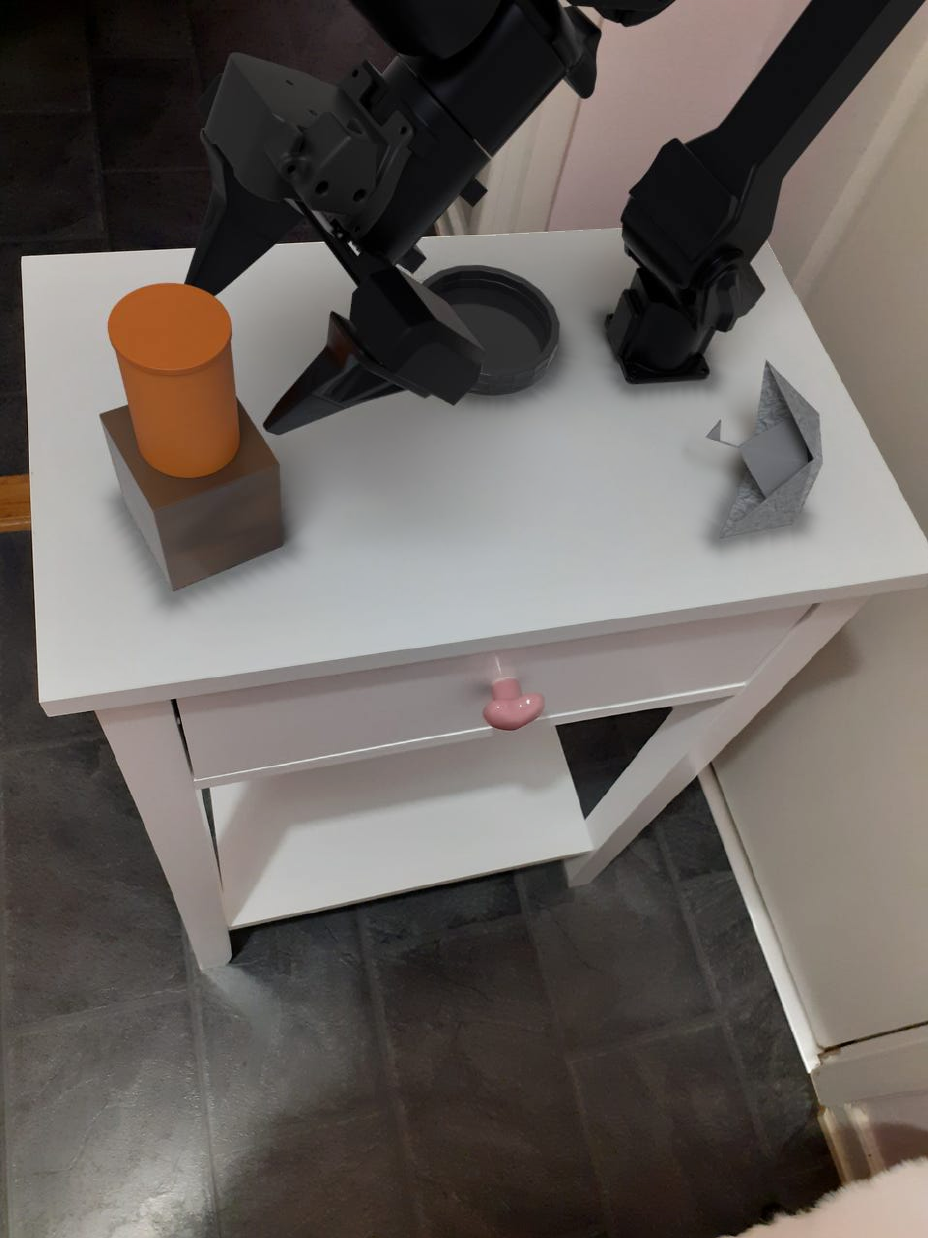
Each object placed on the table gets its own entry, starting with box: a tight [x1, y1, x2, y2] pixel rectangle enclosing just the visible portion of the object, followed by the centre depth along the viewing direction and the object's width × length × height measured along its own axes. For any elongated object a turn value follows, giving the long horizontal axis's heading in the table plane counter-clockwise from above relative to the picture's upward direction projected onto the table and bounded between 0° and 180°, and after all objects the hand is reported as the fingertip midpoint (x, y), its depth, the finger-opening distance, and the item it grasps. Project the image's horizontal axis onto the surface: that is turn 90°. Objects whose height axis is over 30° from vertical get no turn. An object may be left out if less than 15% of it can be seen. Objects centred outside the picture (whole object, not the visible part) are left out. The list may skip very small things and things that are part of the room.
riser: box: [98, 395, 284, 592], centre depth 52 cm, size 7×7×8 cm
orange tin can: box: [107, 282, 240, 478], centre depth 45 cm, size 5×5×8 cm
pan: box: [421, 264, 561, 396], centre depth 66 cm, size 11×11×2 cm
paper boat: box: [705, 359, 824, 539], centre depth 61 cm, size 12×6×9 cm
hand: (227, 365), depth 46 cm, fingers open, 9 cm apart
